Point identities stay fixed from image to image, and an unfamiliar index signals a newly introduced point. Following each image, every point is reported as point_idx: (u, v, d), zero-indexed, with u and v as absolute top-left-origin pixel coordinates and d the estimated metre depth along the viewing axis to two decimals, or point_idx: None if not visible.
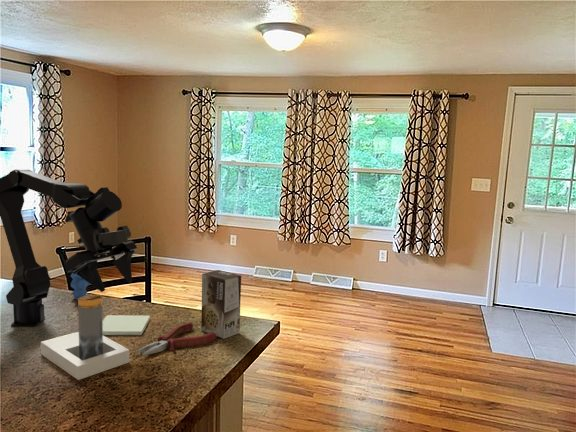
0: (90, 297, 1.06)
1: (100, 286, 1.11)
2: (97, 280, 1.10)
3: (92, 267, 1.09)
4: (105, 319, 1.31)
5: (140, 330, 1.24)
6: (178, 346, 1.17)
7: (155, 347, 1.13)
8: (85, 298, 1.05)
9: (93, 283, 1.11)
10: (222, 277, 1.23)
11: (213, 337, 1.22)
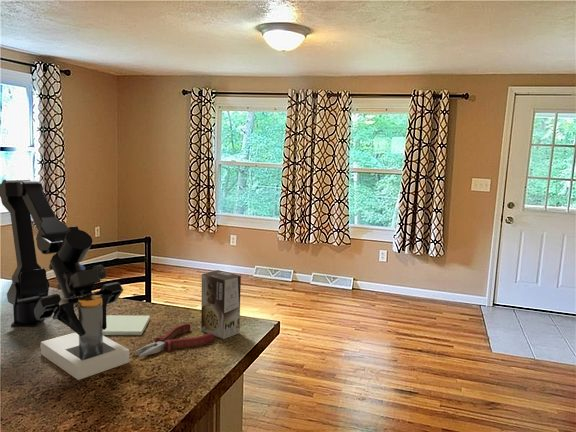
0: (90, 297, 1.06)
1: (78, 330, 1.03)
2: (74, 323, 1.03)
3: (67, 310, 1.03)
4: None
5: (140, 330, 1.24)
6: (175, 347, 1.16)
7: (152, 348, 1.13)
8: (85, 298, 1.05)
9: (72, 327, 1.04)
10: (221, 278, 1.23)
11: (210, 338, 1.21)
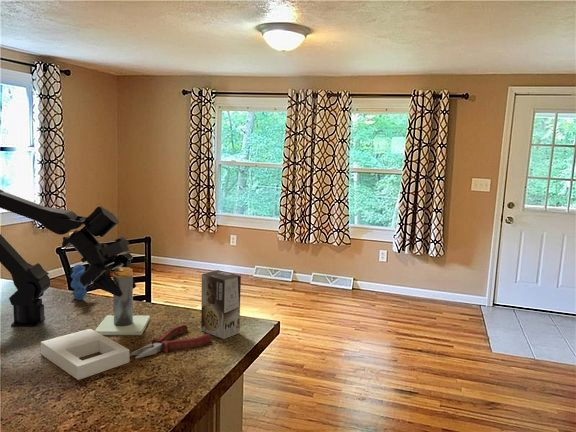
0: (120, 268, 1.27)
1: (117, 291, 1.23)
2: (114, 287, 1.23)
3: (107, 276, 1.22)
4: (105, 319, 1.31)
5: (140, 330, 1.24)
6: (172, 348, 1.16)
7: (149, 350, 1.12)
8: (118, 270, 1.26)
9: (110, 291, 1.23)
10: (221, 278, 1.23)
11: (207, 339, 1.20)
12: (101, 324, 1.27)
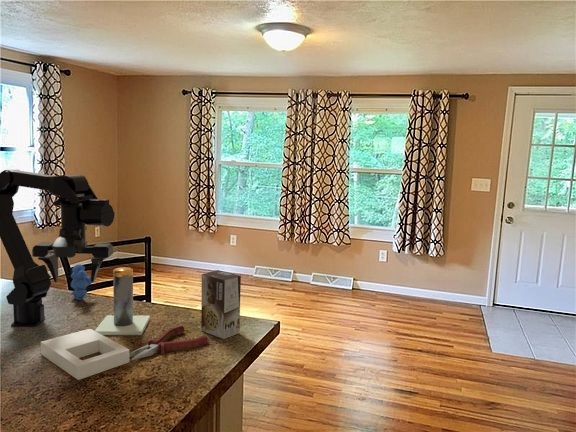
0: (121, 268, 1.28)
1: None
2: None
3: (45, 262, 1.21)
4: (105, 319, 1.31)
5: (140, 330, 1.24)
6: (169, 350, 1.15)
7: (145, 351, 1.11)
8: (119, 270, 1.26)
9: None
10: (221, 278, 1.23)
11: (204, 340, 1.20)
12: (101, 324, 1.27)
